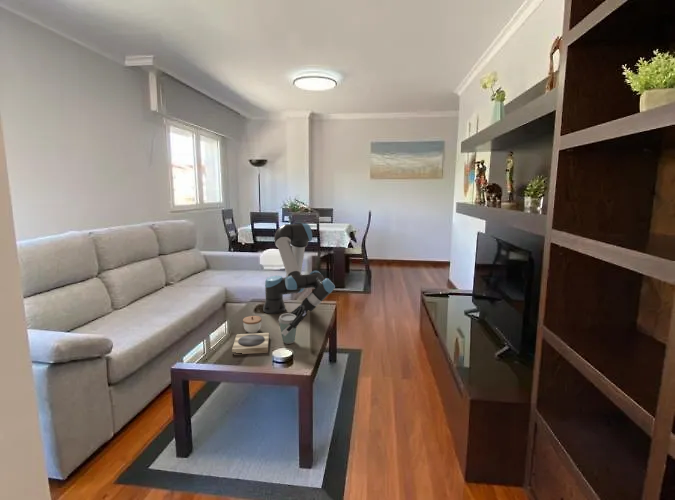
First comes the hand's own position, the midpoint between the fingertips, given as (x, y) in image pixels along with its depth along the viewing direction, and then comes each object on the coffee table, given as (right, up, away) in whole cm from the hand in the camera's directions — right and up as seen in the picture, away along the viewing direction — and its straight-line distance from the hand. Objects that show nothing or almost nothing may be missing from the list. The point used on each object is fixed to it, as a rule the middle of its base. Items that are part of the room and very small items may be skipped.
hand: (283, 329), depth 198 cm
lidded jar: (-21, -5, +16) cm, 27 cm away
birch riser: (-17, -8, -2) cm, 19 cm away
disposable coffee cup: (+3, -7, +2) cm, 8 cm away
